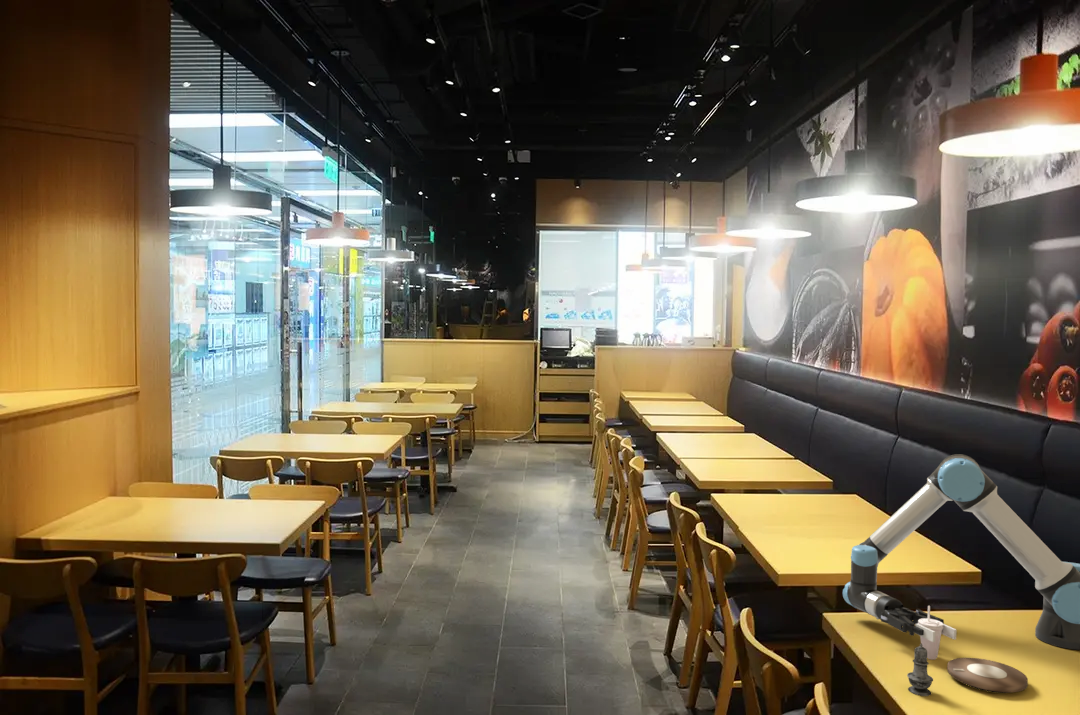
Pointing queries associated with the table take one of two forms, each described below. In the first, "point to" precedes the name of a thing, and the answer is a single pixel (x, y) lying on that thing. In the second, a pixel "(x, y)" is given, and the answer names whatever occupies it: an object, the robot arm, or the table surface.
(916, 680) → the salt shaker
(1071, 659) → the table surface
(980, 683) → the turntable
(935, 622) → the smoothie
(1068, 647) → the robot arm
